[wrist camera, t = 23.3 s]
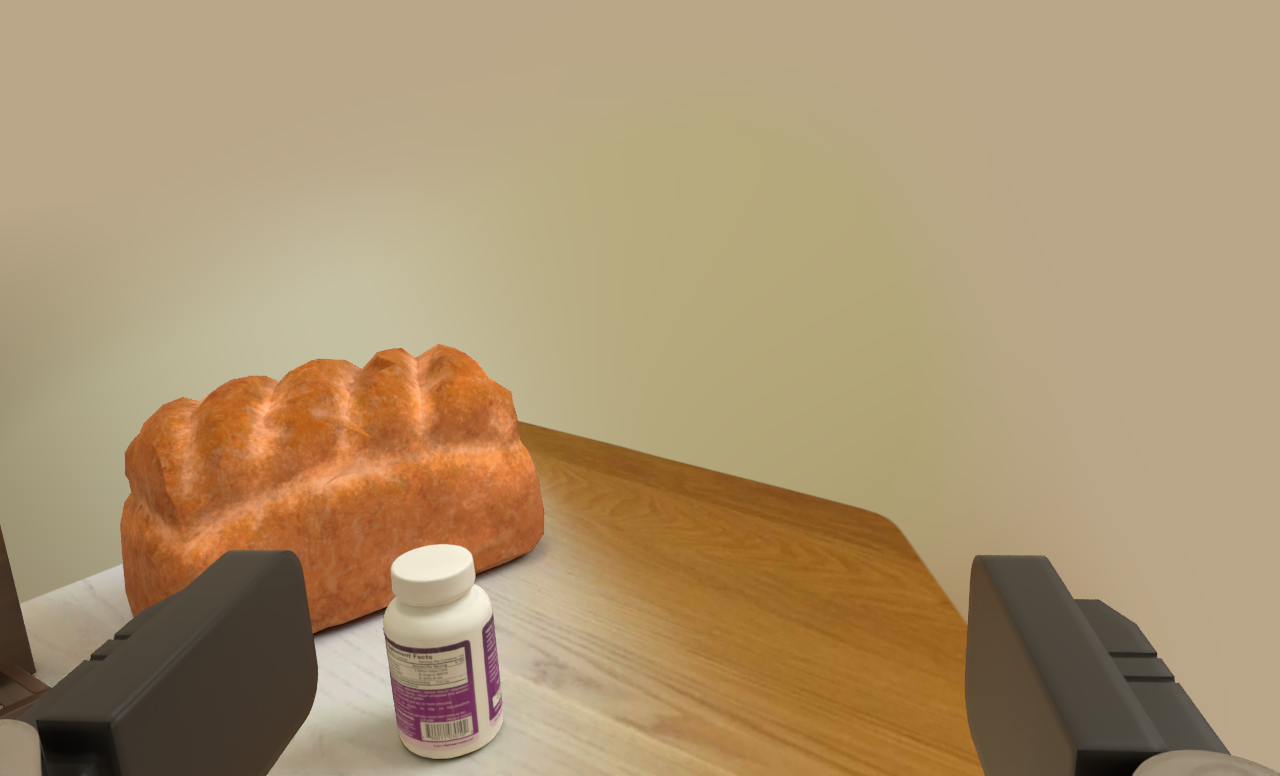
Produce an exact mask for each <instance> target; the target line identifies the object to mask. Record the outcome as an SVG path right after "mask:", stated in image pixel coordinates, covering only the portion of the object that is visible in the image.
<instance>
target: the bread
mask: <svg viewBox="0 0 1280 776" xmlns="http://www.w3.org/2000/svg"><path fill="white" fill-rule="evenodd" d="M125 475H126V477H127V478H128V480H129V483H130V488H131V494H130V495H129V497H128V498H127V500H126V501H125V503H124V508H123V513H122V518H121V524H120V527H121V543H122V555H123V568H124V579H125V590H126V594H127V598H128V601H129V604H130V607H131V611H132V614H133V618H135V617H136V616H137V615H138V614H139V613H140V612H142V611H143V610H144V609H146V608H148V607H150V606H152V605H154V604H156V603H158V602H160V601H162V600H164V599H166V598H168V597H170V596H171V595H173V594H175V593H177V592H179V591H181V590H183V589H185V588H186V587H187V586H188V585H189V584H190V583H191V582H192V581H194V580H195V579H196V578H197V577H198V576H199V575H200V574H201V573H203V572H204V571H205V570H206V569H207V568H208V567H209V566H211V565H212V564H213V563H214V562H215V561H216V560H217V559H218V558H220V557H221V556H222V555H223V554H224V553H226V552H227V551H230V550H290V551H293V552H294V553H295V554H296V555H297V556H298V558H299V560H300V562H301V565H302V568H303V573H304V580H305V586H306V593H307V599H308V606H309V612H310V618H311V625H312V631H313V633H315V632H318V631H320V630H322V629H325V628H327V627H331V626H335V625H339V624H343V623H345V622H348V621H351V620H353V619H356V618H359V617H361V616H364V615H366V614H369V613H372V612H374V611H377V610H380V609H382V608H385V607H387V606H388V605H389V604H390V602H391V601H392V600H393V599H394V598H395V597H396V596H395V594H394V593H393V591H392V579H391V566H392V563H393V562H394V561H395V560H396V559H397V558H398V557H399V556H401V555H402V554H404V553H406V552H408V551H411V550H413V549H417V548H420V547H424V546H428V545H438V544H449V545H456V546H461V547H463V548H465V549H467V550H468V551H469V552H470V553H471V554H472V557H473V563H474V569H475V574H477V573H480V572H482V571H485V570H488V569H490V568H493V567H496V566H498V565H501V564H504V563H506V562H508V561H510V560H512V559H515V558H517V557H519V556H521V555H523V554H526V553H528V552H530V551H532V550H533V549H534V547H535V546H536V544H537V543H538V542H539V540H540V539H541V537H542V536H543V534H544V507H543V501H542V496H541V490H540V485H539V479H538V476H537V473H536V470H535V467H534V465H533V462H532V459H531V456H530V454H529V452H528V450H527V449H526V448H525V447H524V445H523V444H522V443H521V441H520V438H519V429H518V420H517V415H516V411H515V408H514V405H513V399H512V394H511V391H509V390H507V389H506V388H504V387H503V386H501V385H499V384H498V383H496V382H495V381H493V380H491V379H490V378H489V377H488V376H487V375H486V374H485V372H484V371H483V369H482V368H481V367H480V366H479V364H478V363H477V362H476V361H475V360H473V359H472V358H471V357H469V356H468V355H467V354H465V353H463V352H461V351H459V350H457V349H455V348H451V347H448V346H444V345H440V344H438V345H436V346H434V347H433V348H431V349H429V350H428V351H426V352H424V353H423V354H421V355H419V356H418V357H416V358H414V357H413V356H412V355H410V354H409V353H408V352H406V351H405V350H403V349H402V348H399V349H396V348H394V349H389V350H384V351H380V352H377V353H376V354H375V355H374V356H373V358H372V359H371V360H370V361H369V362H368V363H367V364H366V365H365V367H364V368H363V369H361V368H359V367H357V366H355V365H353V364H352V363H350V362H348V361H346V360H331V359H317V360H312V361H310V362H308V363H306V364H304V365H302V366H300V367H298V368H296V369H294V370H292V371H290V372H288V374H286V376H285V377H284V378H283V379H282V380H281V381H280V382H279V381H276V380H274V379H271V378H269V377H267V376H249V377H244V378H239V379H234V380H230V381H228V382H227V383H225V384H223V385H222V386H220V387H218V388H217V389H216V390H215V391H213V392H212V393H210V394H209V395H208V396H207V397H205V398H204V399H203V400H201V401H196V400H192V399H188V398H184V397H182V398H180V399H177V400H174V401H172V402H169V403H167V404H164V405H162V406H161V407H160V408H159V409H158V410H157V411H156V412H155V413H154V414H153V415H152V416H151V417H150V418H149V419H148V420H147V421H146V422H145V423H144V424H143V427H142V429H141V431H140V433H139V435H138V436H137V437H136V438H135V439H134V440H133V441H132V442H131V444H130V445H129V447H128V448H127V450H126V452H125Z"/></svg>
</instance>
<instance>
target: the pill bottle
mask: <svg viewBox="0 0 1280 776" xmlns="http://www.w3.org/2000/svg"><path fill="white" fill-rule="evenodd" d="M391 579H392V591H393V593H394V594H395V596H396V597H395V598H394V599H393V600H392V601H391V602H390V604H389V605H388V607H387V609H386V611H385V614H384V627H383V630H384V635H385V640H386V648H387V655H388V661H389V669H390V677H391V685H392V692H393V700H394V706H395V712H396V719H397V725H398V730H399V735H400V738H401V740H402V742H403V744H404V745H405V746H406V747H407V748H408V749H409V750H410V751H412V752H413V753H415V754H417V755H420V756H423V757H428V758H433V759H445V758H453V757H457V756H461V755H464V754H467V753H470V752H473V751H475V750H478V749H480V748H481V747H483V746H485V745H486V744H487V743H489V742H490V741H491V740H492V739H493V738H494V737H495V736H496V734H497V733H498V731H499V730H500V728H501V726H502V723H503V705H502V695H501V685H500V674H499V664H498V655H497V646H496V637H495V627H494V618H493V608H492V604H491V601H490V599H489V597H488V595H487V594H486V593H485V591H484V590H483V589H481V588H480V587H479V586H477V585H476V584H474V581H475V569H474V563H473V557H472V554H471V553H470V552H469V551H468V550H467V549H465V548H463V547H461V546H456V545H449V544H438V545H428V546H424V547H420V548H417V549H413V550H411V551H408V552H406V553H404V554H402V555H401V556H399V557H398V558H397V559H396V560H395V561H394V562H393V563H392V566H391Z"/></svg>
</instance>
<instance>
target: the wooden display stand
mask: <svg viewBox="0 0 1280 776" xmlns="http://www.w3.org/2000/svg"><path fill="white" fill-rule="evenodd" d="M34 672H36V669H35V665H34V661H33V657H32V653H31V649H30V645H29V641H28V637H27V633H26V629H25V625H24V620H23V616H22V612H21V608H20V604H19V600H18V596H17V592H16V588H15V584H14V580H13V576H12V571H11V567H10V564H9V559H8V555H7V551H6V547H5V543H4V539H3V535H2V531H1V527H0V703H1V704H2V705H3V706H5V708H3V709H1V710H0V719H10V720H16V719H17V718H18V717H19V716H20V715H22V714H23V713H24V712H25V711H26V710H27V709H29V708H30V707H31V706H32V705H33V704H34V703H36V702H37V701H38V700H39V699H40V698H41V697H43V696H44V695H45V694H46V693H47V692H48V691H50V690H51V689H52V688H51V687H49V686H48V685H46V684H45V683H43V682H42V681H40V680H38V679H37V678H35V677H34V676H32V675H31V674H32V673H34Z"/></svg>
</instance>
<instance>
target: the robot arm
mask: <svg viewBox="0 0 1280 776" xmlns="http://www.w3.org/2000/svg"><path fill="white" fill-rule="evenodd" d="M317 682H318V665H317V657H316V651H315V644H314V638H313V631H312V625H311V618H310V612H309V606H308V599H307V593H306V586H305V580H304V573H303V568H302V565H301V562H300V560H299V558H298V556H297V555H296V554H295V553H294V552H293V551H290V550H230V551H227V552H226V553H224V554H223V555H222V556H221V557H220V558H218V559H217V560H216V561H215V562H214V563H213V564H212V565H211V566H209V567H208V568H207V569H206V570H205V571H204V572H203V573H201V574H200V575H199V576H198V577H197V578H196V579H195V580H194V581H192V582H191V583H190V584H189V585H188V586H187V587H186V588H185V589H183V590H181V591H179V592H177V593H175V594H173V595H171V596H170V597H168V598H166V599H164V600H162V601H160V602H158V603H156V604H154V605H152V606H150V607H148V608H146V609H144V610H143V611H142V612H140V613H139V614H138V615H137V616H136V617H135V618H133V619H132V620H131V621H130V622H129V623H128V624H126V625H125V626H124V627H123V628H122V629H121V630H119V631H118V632H117V633H116V634H115V637H114V640H108V641H107V642H105V643H104V644H103V645H102V646H101V647H100V648H98V649H97V650H96V651H95V652H94V653H93V654H91V659H90V661H85V660H84V661H83V662H82V663H81V664H80V665H79V666H78V667H76V668H75V669H74V670H73V671H72V672H71V673H69V674H68V675H67V676H66V677H65V678H64V679H62V680H61V681H60V682H59V683H58V684H57V685H55V686H54V687H53V688H52V689H51V690H50V691H48V692H47V693H46V694H45V695H44V696H43V697H41V698H40V699H39V700H38V701H37V702H36V703H34V704H33V705H32V706H31V707H30V708H29V709H27V710H26V711H25V712H24V713H23V714H22V715H20V716H19V717H18V718H17V719H16V720H10V719H0V776H266V775H267V774H268V772H269V771H270V770H271V768H272V767H273V765H274V764H275V762H276V761H277V760H278V758H279V757H280V755H281V754H282V753H283V751H284V750H285V748H286V747H287V745H288V744H289V743H290V741H291V740H292V738H293V737H294V735H295V734H296V733H297V731H298V730H299V728H300V727H301V726H302V724H303V723H304V721H305V720H306V718H307V717H308V715H309V713H310V711H311V708H312V705H313V703H314V699H315V695H316V690H317ZM965 698H966V709H967V717H968V723H969V728H970V732H971V736H972V739H973V742H974V745H975V747H976V750H977V753H978V756H979V759H980V762H981V765H982V768H983V771H984V774H985V776H1280V773H1278V772H1275V771H1274V770H1272V769H1270V768H1267V767H1265V766H1262V765H1260V764H1258V763H1255V762H1252V761H1249V760H1246V759H1243V758H1240V757H1236V756H1232V755H1231V754H1230V753H1229V751H1228V750H1227V749H1226V747H1225V746H1224V744H1223V743H1222V742H1221V740H1220V739H1219V738H1218V736H1217V735H1216V733H1215V732H1214V731H1213V729H1212V728H1211V726H1210V725H1209V724H1208V722H1207V721H1206V720H1205V718H1204V717H1203V715H1202V714H1201V713H1200V711H1199V710H1198V709H1197V707H1196V706H1195V704H1194V703H1193V702H1192V700H1191V699H1190V697H1189V696H1188V695H1187V693H1186V692H1185V691H1184V689H1183V688H1182V686H1181V685H1180V684H1179V683H1175V680H1174V675H1173V674H1172V673H1171V672H1170V670H1169V669H1168V667H1167V666H1166V665H1165V663H1164V662H1163V660H1162V659H1160V658H1157V652H1156V651H1155V649H1154V648H1153V646H1152V645H1151V644H1150V642H1149V641H1148V640H1147V638H1146V637H1145V635H1144V634H1143V633H1142V631H1141V630H1140V629H1139V627H1138V626H1137V624H1135V623H1134V622H1132V621H1130V620H1129V619H1128V618H1126V617H1124V616H1123V615H1121V614H1120V613H1118V612H1117V611H1115V610H1114V609H1112V608H1111V607H1109V606H1107V605H1106V604H1105V603H1103V602H1102V601H1100V600H1087V599H1086V600H1084V599H1073V597H1072V596H1071V594H1070V592H1069V591H1068V590H1067V588H1066V586H1065V585H1064V583H1063V582H1062V580H1061V578H1060V577H1059V575H1058V574H1057V572H1056V570H1055V569H1054V567H1053V566H1052V564H1051V563H1050V561H1049V560H1048V558H1047V557H1045V556H1017V555H1014V556H1013V555H977V556H975V558H974V560H973V564H972V568H971V577H970V594H969V613H968V631H967V650H966V669H965Z"/></svg>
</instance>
